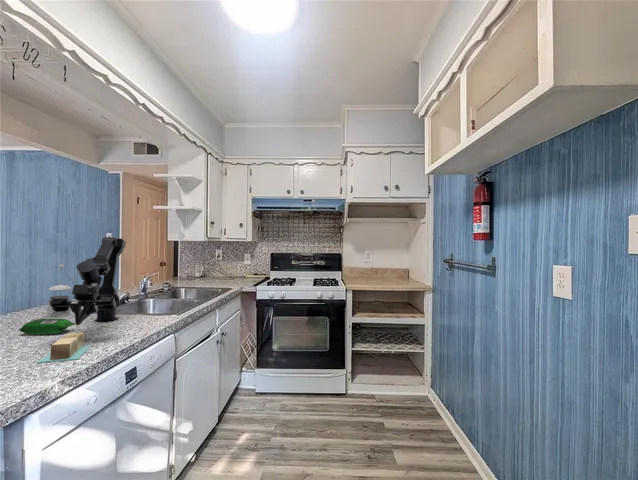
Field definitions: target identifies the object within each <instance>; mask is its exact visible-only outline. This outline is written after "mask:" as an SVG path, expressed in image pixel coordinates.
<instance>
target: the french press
mask: <svg viewBox="0 0 638 480" xmlns="http://www.w3.org/2000/svg"><path fill="white" fill-rule="evenodd" d="M58 268H60V273H62V270H63V268H65V265H64V264H59V265H58ZM59 280H60V281H59V282H60V284H58V285H53V286H51V287H49V288H48V291H51V292H58V291H59V292H61V291H69V292H68V293H69V294H72V292H73V289H72V286H69V285H66V284H64V285H63V284H62V279H59ZM64 297H66V298H67V300H68V301H71V298H70V297H71V296H70V295H53V296H50V297H49V300H47V316H46V317H44V319H67V320H69V319H70V318H72V317H73V316H72V314H71V308H70V307H69V309H68V310H67V311H65V312H55V311H53V309H52V307H51V306H50V301H51V300H52V299H53V298H64Z"/></svg>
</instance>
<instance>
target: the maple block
mask: <svg viewBox="0 0 638 480" xmlns="http://www.w3.org/2000/svg"><path fill="white" fill-rule="evenodd" d="M84 338H85V332H71V333H70V332H68V333H67V334H65V335H63V337H61V338H60V339H58V340H57V341H56V342H54V343H52V344H51V345H50V352H51V355H50V360H56V359H67V358H69V357H71V356H72V355H73V354H74V353H75V352H76V351H77V350H78V349H80V348H81V347H82V346H84V342H85V341H84Z"/></svg>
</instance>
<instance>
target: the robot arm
mask: <svg viewBox="0 0 638 480" xmlns="http://www.w3.org/2000/svg"><path fill="white" fill-rule="evenodd" d="M126 244H127V243H126V240H125V239H123V238H118V237H117V238H116V237H113V236H111V237H109V236H108V237H107V236H105V237H102V239H101V244H100V246H99V248H98V250H97V252H96V253H95V254H96V255H95V256H94V257H92V258H86V259H85V260H84V261H81V262H79V263H78V264H76V270H77V272H78V275H79V276H80V280H82V283H81V284H74V285H73V289H72V290H73V291H71V294H72V295H73V298H74V299H70V301H68V300H67V299H68V298H66V297H64V298H53V299H50V300H51V301H50V306H51V308H52V309H53V311H55V312H65V311H67V310H68V309H69V307H70V311H71V312H72V313H73V314H74V319H75V322H74V323H75V326H80V325H81V324H82V323H83V322H84V321H85V320H86V319H87V318H88V317H89V316H91V315H92V314H93V313H96V319H94V322H101V323H107V322H111V321H115V320H117V319H119V317H116V313H117V312H116V309H117V308H119V307H120V306H121V305H120V304H121V300H120V297H119V294H118V290H117V289H116V287H115V283H116V274H117V268H118V262H119V256H120V255H122V254H123V253H124V249H125V247H126ZM102 276H103V277H102Z"/></svg>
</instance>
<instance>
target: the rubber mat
mask: <svg viewBox="0 0 638 480" xmlns="http://www.w3.org/2000/svg"><path fill="white" fill-rule="evenodd" d="M92 347H93V344H92V345H91V344H89V345H83V346H82V347H81V348H80V349H78V350H77V351H76V352H75V353H74V354H73V355H72V356H71V357H69V358H67V359H56V360H50V355H51V351H50V352H49V353H48V354H46V355H45V356H44V357H42V358H41V359H40V360H38V361H37V362H36V363H37V364H47V363H58V362H57V361H59V362H67V361H66V360H70V361H78V360H80V357H81V356H82V355H83V354H84V353H85V352H86V353H87V352H89V349H91V348H92ZM86 353H85V354H86ZM83 356H84V355H83ZM83 356H82V357H83ZM82 357H81V358H82Z"/></svg>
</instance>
